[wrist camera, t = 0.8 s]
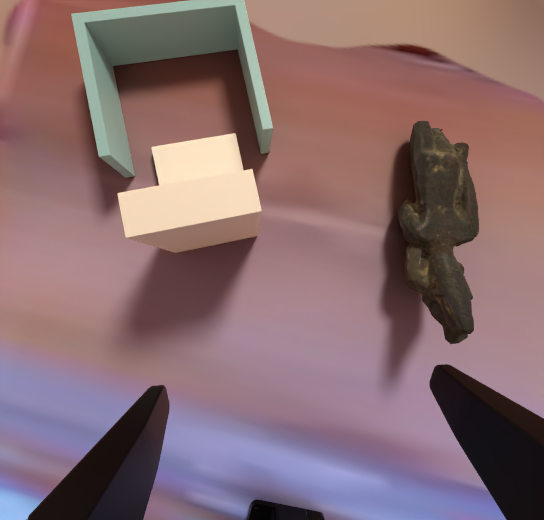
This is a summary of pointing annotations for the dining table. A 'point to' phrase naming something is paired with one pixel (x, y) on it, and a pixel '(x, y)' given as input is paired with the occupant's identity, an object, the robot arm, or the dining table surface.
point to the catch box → (157, 46)
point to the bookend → (194, 197)
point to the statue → (440, 228)
